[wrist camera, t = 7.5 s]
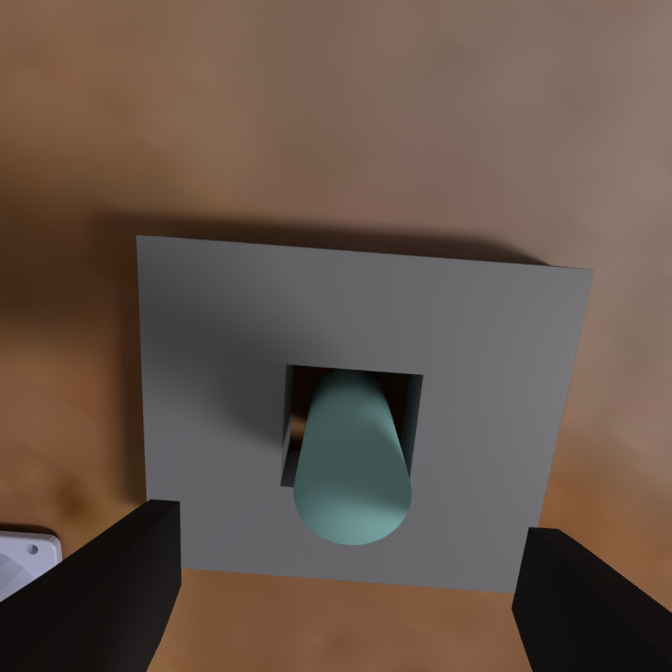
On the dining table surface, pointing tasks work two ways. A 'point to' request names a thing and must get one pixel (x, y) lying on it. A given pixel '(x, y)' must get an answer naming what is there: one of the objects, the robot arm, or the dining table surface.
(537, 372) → the peg block
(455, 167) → the dining table surface
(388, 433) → the peg
